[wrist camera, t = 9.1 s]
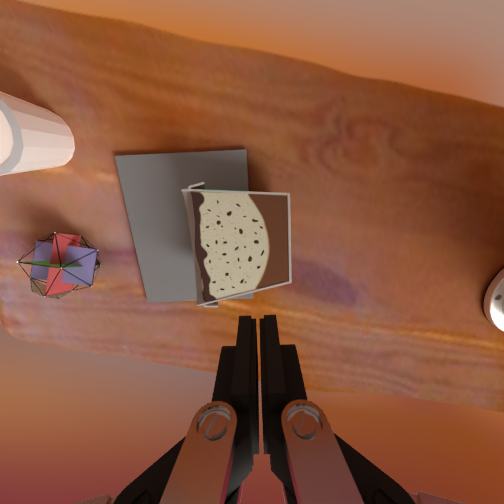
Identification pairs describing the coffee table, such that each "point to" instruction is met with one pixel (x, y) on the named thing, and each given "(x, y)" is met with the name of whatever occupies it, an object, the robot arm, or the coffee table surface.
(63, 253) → the geometric puzzle
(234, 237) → the food container
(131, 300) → the coffee table surface
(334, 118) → the coffee table surface
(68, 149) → the shot glass
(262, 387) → the robot arm
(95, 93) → the coffee table surface
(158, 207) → the mat
